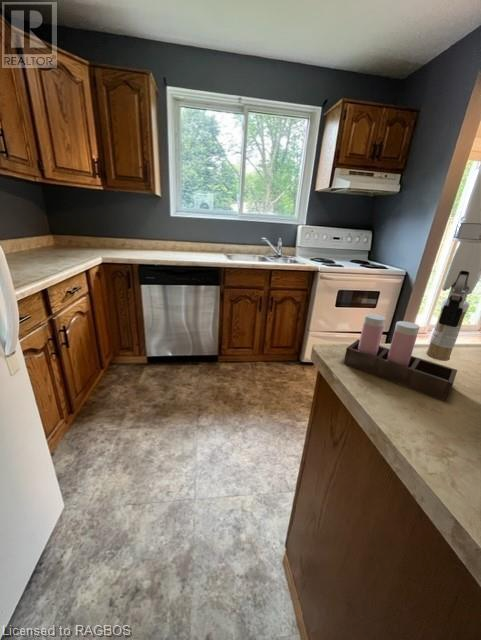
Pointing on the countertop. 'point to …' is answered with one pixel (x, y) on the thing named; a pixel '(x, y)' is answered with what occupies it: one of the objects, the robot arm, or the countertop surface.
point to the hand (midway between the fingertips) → (449, 321)
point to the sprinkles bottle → (445, 337)
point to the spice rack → (404, 371)
